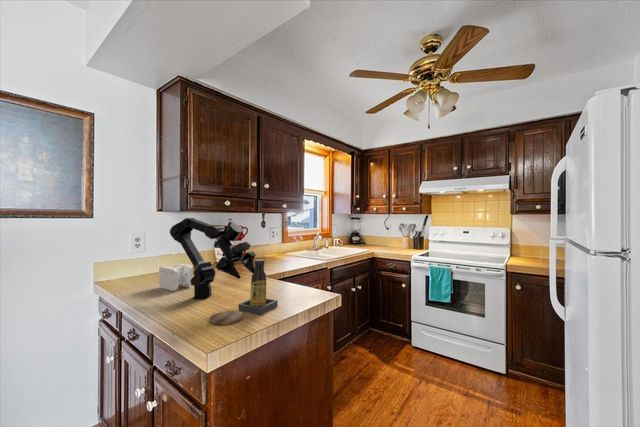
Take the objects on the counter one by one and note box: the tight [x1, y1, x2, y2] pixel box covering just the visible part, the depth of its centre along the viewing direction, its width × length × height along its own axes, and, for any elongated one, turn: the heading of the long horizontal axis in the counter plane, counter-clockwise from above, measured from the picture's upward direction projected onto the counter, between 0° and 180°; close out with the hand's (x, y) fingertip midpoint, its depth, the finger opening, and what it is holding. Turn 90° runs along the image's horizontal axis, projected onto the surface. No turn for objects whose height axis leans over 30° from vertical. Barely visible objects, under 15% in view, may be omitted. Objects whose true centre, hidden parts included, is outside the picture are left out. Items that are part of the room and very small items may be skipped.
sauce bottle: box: [249, 258, 267, 308], centre depth 113 cm, size 6×6×20 cm
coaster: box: [209, 310, 245, 326], centre depth 102 cm, size 12×12×1 cm
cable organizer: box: [158, 263, 193, 292], centre depth 143 cm, size 15×11×12 cm
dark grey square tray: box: [238, 297, 279, 316], centre depth 113 cm, size 11×11×2 cm
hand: (247, 275), depth 116 cm, fingers open, 9 cm apart
